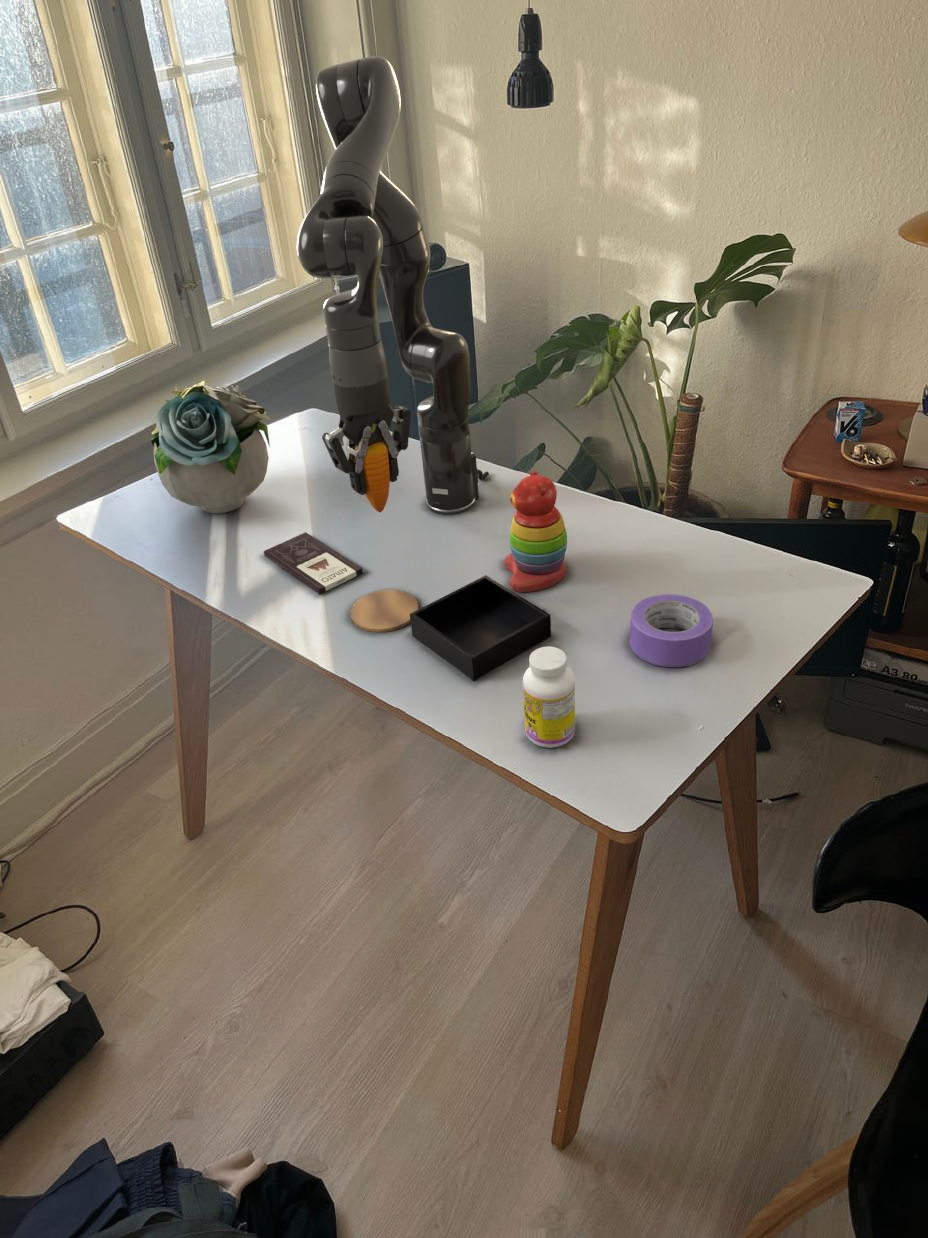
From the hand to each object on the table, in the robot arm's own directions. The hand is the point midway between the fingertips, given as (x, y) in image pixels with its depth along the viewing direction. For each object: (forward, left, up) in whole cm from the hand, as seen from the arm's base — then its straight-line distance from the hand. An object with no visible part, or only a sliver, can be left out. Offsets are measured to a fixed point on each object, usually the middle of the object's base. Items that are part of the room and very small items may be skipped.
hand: (376, 485), depth 134 cm
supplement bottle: (+1, +37, -23) cm, 44 cm away
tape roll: (-25, +35, -23) cm, 49 cm away
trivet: (+1, -2, -23) cm, 23 cm away
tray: (-6, +14, -23) cm, 28 cm away
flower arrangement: (+3, -56, -23) cm, 60 cm away
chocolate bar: (+2, -23, -23) cm, 32 cm away
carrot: (0, 0, -5) cm, 5 cm away
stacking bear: (-24, +7, -23) cm, 34 cm away
